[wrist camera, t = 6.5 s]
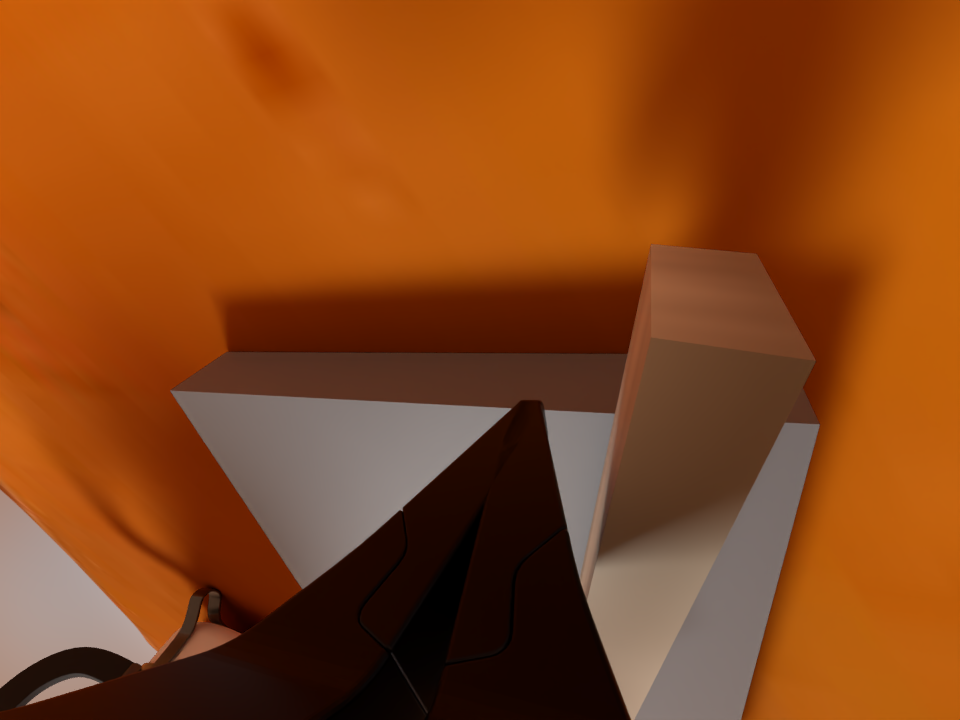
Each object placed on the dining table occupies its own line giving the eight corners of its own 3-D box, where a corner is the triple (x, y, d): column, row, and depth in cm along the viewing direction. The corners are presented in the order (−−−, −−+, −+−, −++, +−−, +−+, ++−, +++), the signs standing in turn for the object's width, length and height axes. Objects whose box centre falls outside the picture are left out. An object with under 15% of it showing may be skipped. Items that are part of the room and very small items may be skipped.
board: (787, 354, 10) (820, 424, 8) (712, 731, 21) (718, 802, 19) (226, 351, 17) (169, 390, 15) (386, 640, 27) (366, 685, 25)
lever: (775, 255, 6) (872, 404, 4) (581, 763, 20) (569, 879, 17) (634, 242, 7) (622, 364, 4) (538, 745, 20) (520, 855, 18)
